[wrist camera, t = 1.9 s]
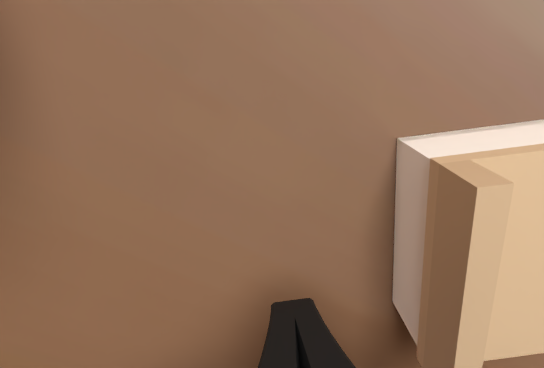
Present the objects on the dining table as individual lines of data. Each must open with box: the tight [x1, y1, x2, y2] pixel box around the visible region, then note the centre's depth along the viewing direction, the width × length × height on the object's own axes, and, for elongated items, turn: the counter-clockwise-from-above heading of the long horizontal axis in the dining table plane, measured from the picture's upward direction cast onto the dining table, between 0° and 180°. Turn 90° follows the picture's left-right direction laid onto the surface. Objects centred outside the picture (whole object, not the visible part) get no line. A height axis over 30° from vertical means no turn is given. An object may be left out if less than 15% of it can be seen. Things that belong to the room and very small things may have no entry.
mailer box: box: [392, 119, 544, 345], centre depth 15 cm, size 11×9×3 cm
